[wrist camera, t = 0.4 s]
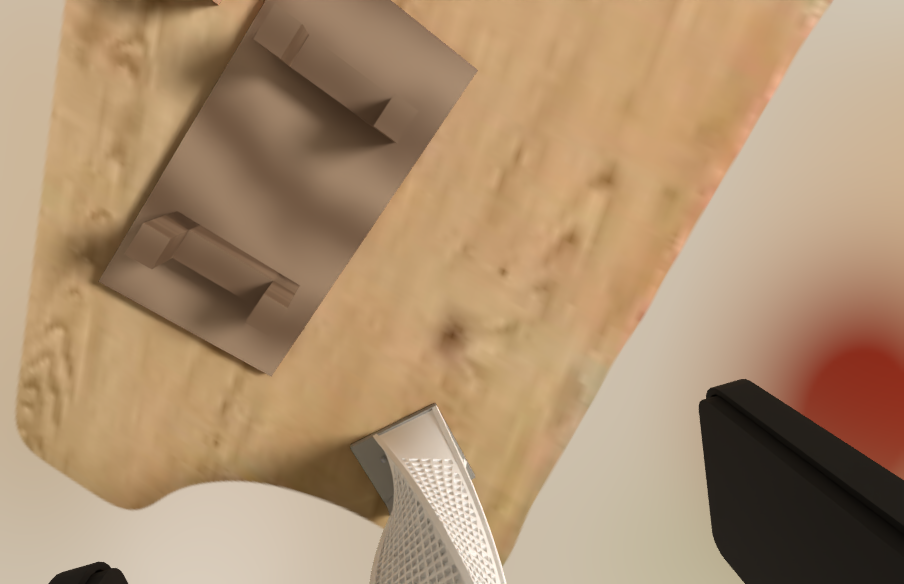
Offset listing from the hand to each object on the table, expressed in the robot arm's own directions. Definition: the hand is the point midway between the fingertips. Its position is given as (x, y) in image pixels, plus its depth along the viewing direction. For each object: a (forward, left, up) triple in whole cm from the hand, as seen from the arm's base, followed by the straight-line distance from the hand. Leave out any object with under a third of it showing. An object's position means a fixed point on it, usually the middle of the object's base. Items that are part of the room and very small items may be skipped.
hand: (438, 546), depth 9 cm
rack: (0, -7, -29) cm, 30 cm away
